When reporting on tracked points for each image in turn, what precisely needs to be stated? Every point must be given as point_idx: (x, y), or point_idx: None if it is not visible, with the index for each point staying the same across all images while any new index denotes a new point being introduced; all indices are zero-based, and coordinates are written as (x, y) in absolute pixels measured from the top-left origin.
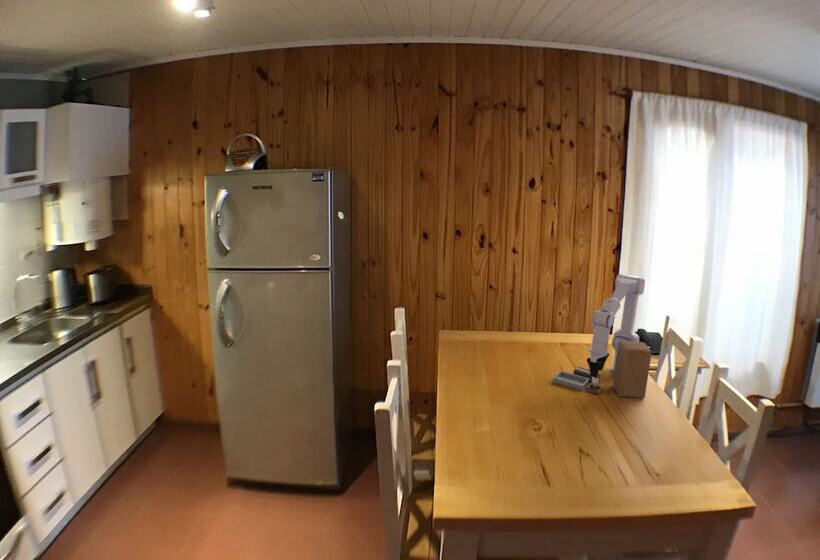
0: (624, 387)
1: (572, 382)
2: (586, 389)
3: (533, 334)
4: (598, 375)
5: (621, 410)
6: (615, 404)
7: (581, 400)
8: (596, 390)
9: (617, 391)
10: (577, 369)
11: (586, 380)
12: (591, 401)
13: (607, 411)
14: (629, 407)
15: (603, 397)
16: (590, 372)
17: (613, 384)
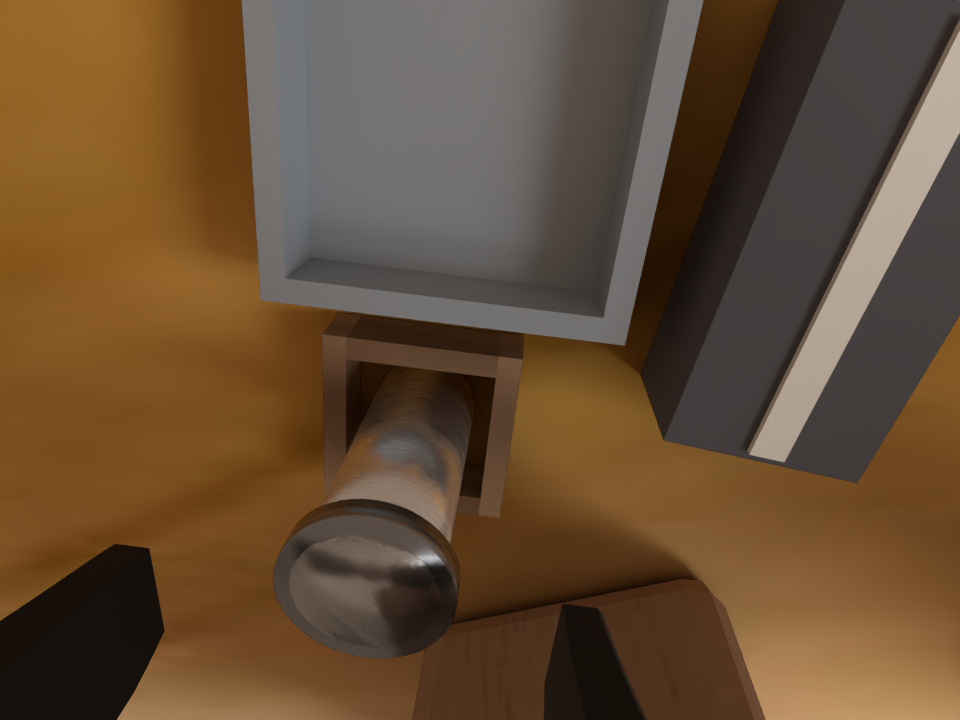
0: None
1: (272, 95)
2: (333, 324)
3: None
4: (338, 627)
5: (156, 650)
6: (233, 608)
7: (27, 305)
8: (326, 460)
9: (445, 653)
10: (923, 61)
11: (520, 311)
12: (104, 411)
13: (32, 560)
14: (266, 696)
15: (305, 508)
16: (25, 608)
17: (649, 606)
